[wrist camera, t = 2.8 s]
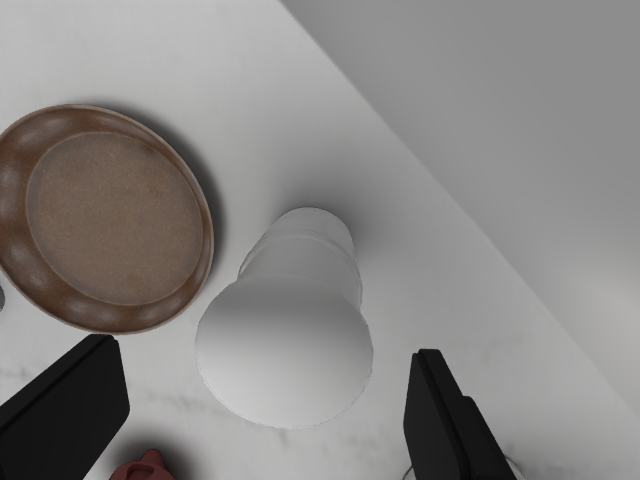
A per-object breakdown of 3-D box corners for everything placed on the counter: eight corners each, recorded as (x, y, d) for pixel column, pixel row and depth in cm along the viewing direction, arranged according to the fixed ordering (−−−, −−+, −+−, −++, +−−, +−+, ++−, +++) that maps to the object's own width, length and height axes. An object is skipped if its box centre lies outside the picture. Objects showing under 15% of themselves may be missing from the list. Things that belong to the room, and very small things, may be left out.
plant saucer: (144, 63, 24) (117, 51, 21) (264, 268, 28) (255, 282, 25) (-30, 174, 27) (-75, 178, 24) (101, 345, 31) (77, 366, 28)
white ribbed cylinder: (371, 237, 26) (415, 348, 12) (316, 297, 28) (298, 457, 14) (305, 182, 25) (265, 230, 11) (252, 248, 27) (158, 364, 13)
